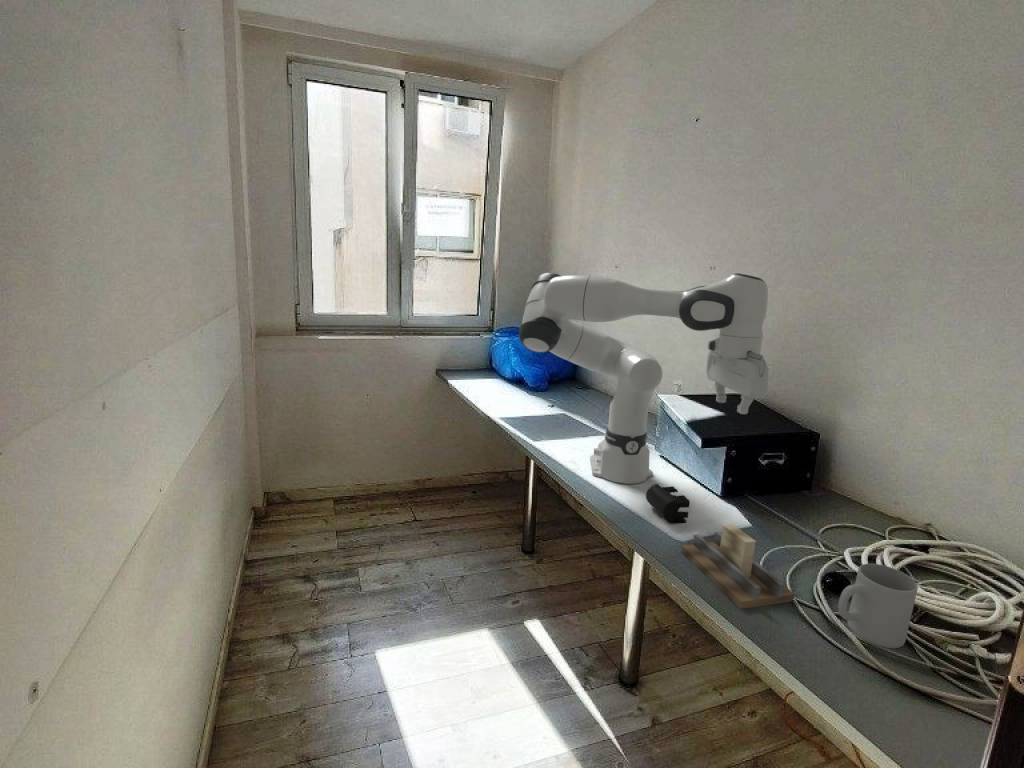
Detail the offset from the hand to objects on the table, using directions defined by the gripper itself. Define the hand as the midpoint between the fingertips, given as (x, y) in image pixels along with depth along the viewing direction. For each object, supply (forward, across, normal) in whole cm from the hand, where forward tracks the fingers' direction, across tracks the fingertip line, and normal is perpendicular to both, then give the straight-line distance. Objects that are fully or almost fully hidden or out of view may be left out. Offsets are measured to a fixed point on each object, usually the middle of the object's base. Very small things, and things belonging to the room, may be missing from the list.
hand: (730, 407), depth 117 cm
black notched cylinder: (+31, +8, +9) cm, 34 cm away
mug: (+31, -36, -10) cm, 49 cm away
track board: (+31, -18, +5) cm, 36 cm away
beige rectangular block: (+30, -18, +5) cm, 35 cm away
